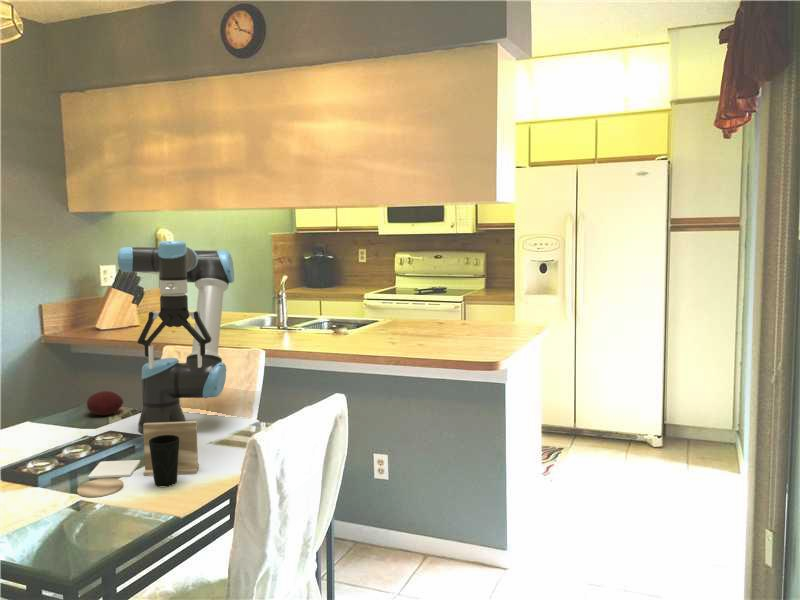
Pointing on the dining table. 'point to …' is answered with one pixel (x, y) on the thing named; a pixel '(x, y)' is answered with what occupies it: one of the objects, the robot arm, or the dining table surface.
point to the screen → (186, 444)
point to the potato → (104, 403)
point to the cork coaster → (100, 487)
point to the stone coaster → (114, 469)
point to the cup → (164, 459)
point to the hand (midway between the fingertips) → (175, 367)
